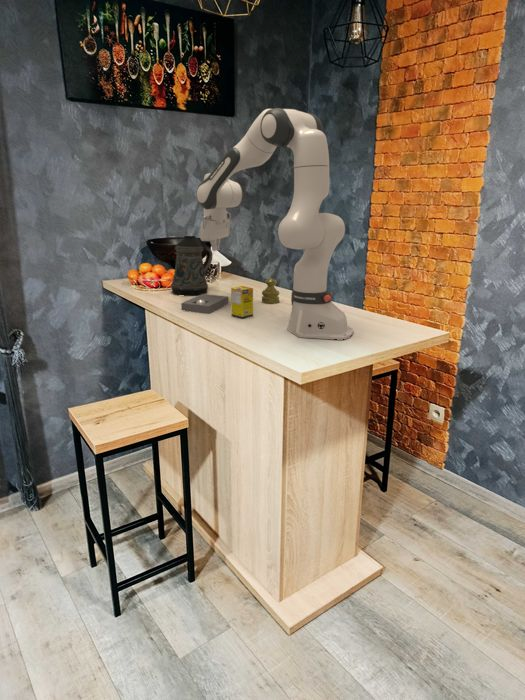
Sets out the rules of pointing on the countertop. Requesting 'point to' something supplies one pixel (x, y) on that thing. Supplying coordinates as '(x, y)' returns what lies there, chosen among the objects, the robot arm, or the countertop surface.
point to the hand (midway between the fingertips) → (215, 250)
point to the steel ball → (200, 301)
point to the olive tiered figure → (270, 292)
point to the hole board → (211, 303)
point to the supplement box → (242, 302)
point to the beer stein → (191, 267)
